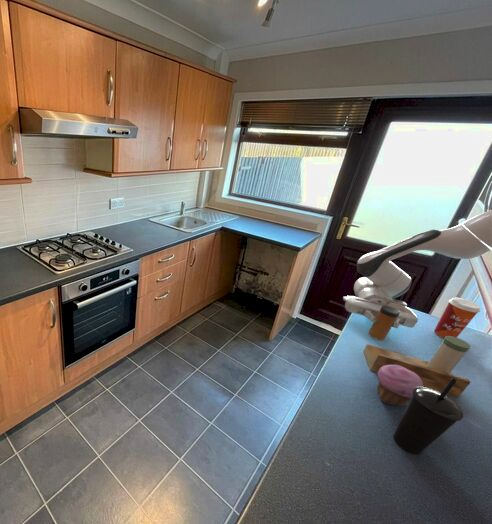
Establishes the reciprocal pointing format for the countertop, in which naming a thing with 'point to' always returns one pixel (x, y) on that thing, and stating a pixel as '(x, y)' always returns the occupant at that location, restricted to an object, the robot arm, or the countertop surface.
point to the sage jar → (448, 354)
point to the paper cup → (456, 317)
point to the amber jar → (384, 322)
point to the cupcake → (397, 384)
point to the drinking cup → (426, 418)
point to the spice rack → (415, 369)
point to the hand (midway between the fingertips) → (385, 323)
